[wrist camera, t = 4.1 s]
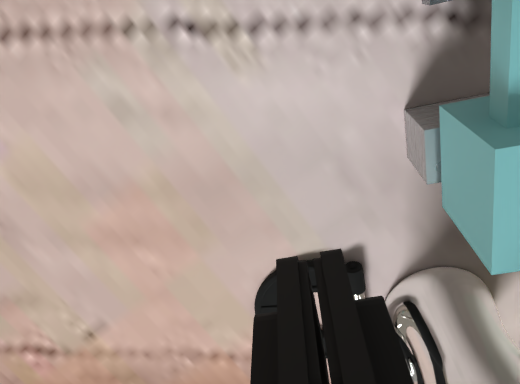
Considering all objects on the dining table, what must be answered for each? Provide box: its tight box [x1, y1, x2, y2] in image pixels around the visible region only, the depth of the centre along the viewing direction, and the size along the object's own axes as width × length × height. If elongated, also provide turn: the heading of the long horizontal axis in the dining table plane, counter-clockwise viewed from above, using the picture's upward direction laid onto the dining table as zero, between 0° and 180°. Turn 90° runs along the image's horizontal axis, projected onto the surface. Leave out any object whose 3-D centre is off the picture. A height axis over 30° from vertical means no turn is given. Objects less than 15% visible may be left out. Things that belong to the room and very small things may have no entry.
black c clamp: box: [255, 261, 365, 358], centre depth 26 cm, size 15×7×2 cm, turn 13°
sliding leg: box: [439, 0, 520, 275], centre depth 13 cm, size 3×13×6 cm, turn 12°
